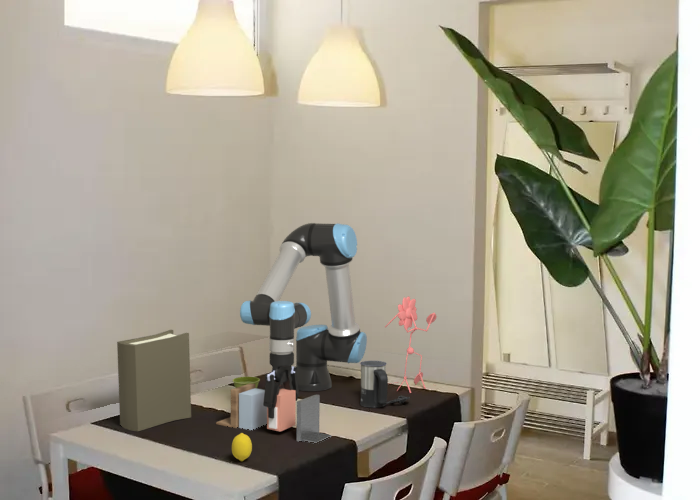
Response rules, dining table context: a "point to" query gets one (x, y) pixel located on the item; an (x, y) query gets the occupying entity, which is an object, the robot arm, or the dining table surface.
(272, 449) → the dining table surface
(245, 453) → the lemon
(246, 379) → the plant pot
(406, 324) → the pink daisy dancer statuette
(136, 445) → the dining table surface
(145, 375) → the book
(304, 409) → the bookend
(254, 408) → the blue block
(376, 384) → the milk frother
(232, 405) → the shelf end
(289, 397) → the red block
